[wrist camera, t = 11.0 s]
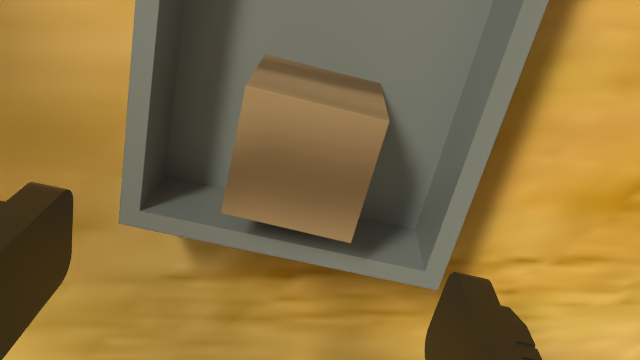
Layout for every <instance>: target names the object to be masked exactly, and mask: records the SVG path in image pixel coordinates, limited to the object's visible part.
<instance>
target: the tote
mask: <svg viewBox="0 0 640 360" xmlns="http://www.w3.org/2000/svg"><path fill="white" fill-rule="evenodd" d="M548 1H549V0H136V2H135V15H134V28H133V41H132V55H131V68H130V81H129V94H128V107H127V120H126V133H125V147H124V160H123V173H122V186H121V199H120V212H119V224H123V225H128V226H133V227H137V228H142V229H147V230H152V231H156V232H161V233H166V234H171V235H175V236H180V237H185V238H190V239H194V240H199V241H204V242H209V243H214V244H218V245H223V246H228V247H233V248H237V249H242V250H247V251H252V252H256V253H261V254H266V255H271V256H275V257H280V258H285V259H290V260H294V261H299V262H304V263H309V264H314V265H318V266H323V267H328V268H333V269H337V270H342V271H347V272H352V273H356V274H361V275H366V276H371V277H375V278H380V279H385V280H390V281H394V282H399V283H404V284H409V285H414V286H418V287H423V288H428V289H433V290H437V291H438V289H439V286H440V283H441V281H442V278H443V276H444V273H445V270H446V268H447V265H448V262H449V260H450V257H451V255H452V252H453V249H454V247H455V244H456V242H457V239H458V236H459V234H460V231H461V229H462V226H463V223H464V221H465V218H466V215H467V213H468V210H469V208H470V205H471V202H472V200H473V197H474V195H475V192H476V189H477V187H478V184H479V181H480V179H481V176H482V174H483V171H484V168H485V166H486V163H487V161H488V158H489V155H490V153H491V150H492V148H493V145H494V142H495V140H496V137H497V134H498V132H499V129H500V127H501V124H502V121H503V119H504V116H505V114H506V111H507V108H508V106H509V103H510V101H511V98H512V95H513V93H514V90H515V87H516V85H517V82H518V80H519V77H520V74H521V72H522V69H523V67H524V64H525V61H526V59H527V56H528V54H529V51H530V48H531V46H532V43H533V40H534V38H535V35H536V33H537V30H538V27H539V25H540V22H541V20H542V17H543V14H544V12H545V9H546V7H547V4H548ZM265 54H267V55H271V56H274V57H278V58H282V59H286V60H290V61H294V62H298V63H302V64H306V65H310V66H314V67H318V68H322V69H325V70H329V71H333V72H337V73H341V74H345V75H349V76H353V77H357V78H361V79H365V80H369V81H373V82H376V83H380V84H381V88H382V92H383V96H384V100H385V104H386V109H387V113H388V117H389V124H388V128H387V131H386V134H385V137H384V140H383V143H382V146H381V150H380V153H379V156H378V159H377V162H376V165H375V169H374V172H373V175H372V178H371V181H370V184H369V188H368V191H367V194H366V197H365V200H364V203H363V207H362V210H361V213H360V216H359V219H358V222H357V225H356V229H355V232H354V235H353V238H352V241H351V243H348V242H343V241H339V240H335V239H330V238H326V237H322V236H318V235H313V234H309V233H305V232H301V231H296V230H292V229H288V228H284V227H279V226H275V225H271V224H266V223H262V222H258V221H254V220H249V219H245V218H241V217H237V216H232V215H228V214H224V213H221V210H222V205H223V200H224V195H225V190H226V184H227V179H228V174H229V169H230V164H231V159H232V153H233V148H234V143H235V138H236V133H237V127H238V122H239V117H240V112H241V107H242V102H243V96H244V91H245V86H246V84H247V82H248V81H249V79H250V77H251V76H252V74H253V73H254V71H255V70H256V68H257V66H258V65H259V63H260V62H261V60H262V58H263V57H264V55H265Z"/></svg>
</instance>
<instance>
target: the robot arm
mask: <svg viewBox="0 0 640 360" xmlns="http://www.w3.org/2000/svg"><path fill="white" fill-rule="evenodd" d="M72 224H73V195H72V192H71V191H70V190H68V189H63V188H58V187H53V186H49V185H44V184H39V183H34V182H30V183H28V184H27V185H25V186H24V187H23V188H22V189H21V190H19V191H18V192H17V193H16V194H15V195H13V196H12V197H11V198H10V199H9V200H7V201H6V202H5V201H0V360H2V359H3V358H4V356H5V355H6V354H7V353H8V351H9V350H10V349H11V347H12V346H13V345H14V344H15V342H16V341H17V340H18V338H19V337H20V336H21V335H22V333H23V332H24V331H25V329H26V328H27V327H28V326H29V324H30V323H31V322H32V320H33V319H34V318H35V317H36V315H37V314H38V313H39V311H40V310H41V309H42V308H43V306H44V305H45V304H46V302H47V301H48V300H49V299H50V297H51V296H52V295H53V293H54V292H55V291H56V290H57V288H58V287H59V286H60V284H61V283H62V281H63V280H64V278H65V276H66V273H67V271H68V268H69V264H70V260H71V252H72ZM425 359H426V360H542V358H541V356H540V354H539V352H538V350H537V349H535V343H534V341H533V339H532V337H531V335H530V332H529V330H528V328H527V326H526V325H525V324H524V323H523V322H522V321H521V320H520V318H519V317H518V316H517V315H516V314H515V313H514V312H513V311H512V310H511V309H510V308H509V307H504V306H501V305H500V303H499V301H498V298H497V296H496V293H495V291H494V289H493V286H492V284H491V282H490V281H489V280H488V279H485V278H480V277H475V276H470V275H466V274H461V273H456V272H453V273H452V274H451V275H450V276H449V278H448V280H447V282H446V284H445V287H444V289H443V292H442V295H441V297H440V300H439V302H438V305H437V307H436V310H435V312H434V315H433V317H432V320H431V322H430V325H429V328H428V331H427V335H426V340H425Z"/></svg>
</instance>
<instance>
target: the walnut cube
mask: <svg viewBox="0 0 640 360" xmlns="http://www.w3.org/2000/svg"><path fill="white" fill-rule="evenodd" d="M388 124H389V117H388V113H387V109H386V104H385V100H384V96H383V92H382V88H381V84H380V83H376V82H373V81H369V80H365V79H361V78H357V77H353V76H349V75H345V74H341V73H337V72H333V71H329V70H325V69H322V68H318V67H314V66H310V65H306V64H302V63H298V62H294V61H290V60H286V59H282V58H278V57H274V56H271V55H267V54H265V55H264V57H263V58H262V60H261V62H260V63H259V65H258V66H257V68H256V70H255V71H254V73H253V74H252V76H251V77H250V79H249V81H248V82H247V84H246V86H245V91H244V96H243V102H242V107H241V112H240V117H239V122H238V127H237V133H236V138H235V143H234V148H233V153H232V159H231V164H230V169H229V174H228V179H227V184H226V190H225V195H224V200H223V205H222V210H221V213H224V214H228V215H232V216H237V217H241V218H245V219H249V220H254V221H258V222H262V223H266V224H271V225H275V226H279V227H284V228H288V229H292V230H296V231H301V232H305V233H309V234H313V235H318V236H322V237H326V238H330V239H335V240H339V241H343V242H348V243H351V241H352V238H353V235H354V232H355V229H356V225H357V222H358V219H359V216H360V213H361V210H362V207H363V203H364V200H365V197H366V194H367V191H368V188H369V184H370V181H371V178H372V175H373V172H374V169H375V165H376V162H377V159H378V156H379V153H380V150H381V146H382V143H383V140H384V137H385V134H386V131H387V128H388Z"/></svg>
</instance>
